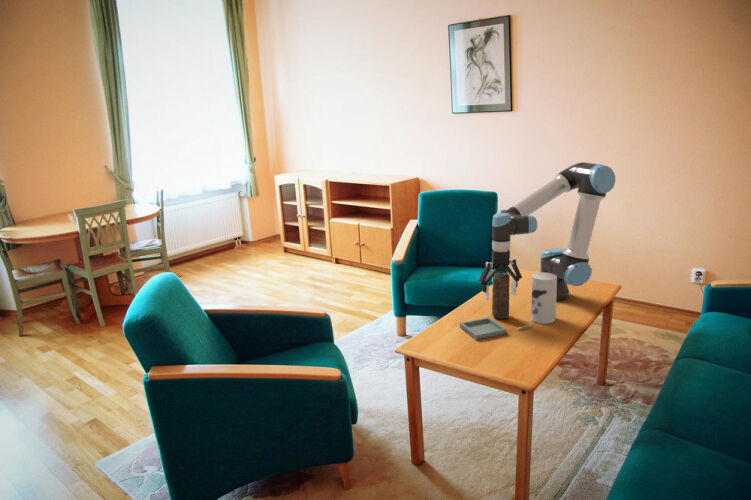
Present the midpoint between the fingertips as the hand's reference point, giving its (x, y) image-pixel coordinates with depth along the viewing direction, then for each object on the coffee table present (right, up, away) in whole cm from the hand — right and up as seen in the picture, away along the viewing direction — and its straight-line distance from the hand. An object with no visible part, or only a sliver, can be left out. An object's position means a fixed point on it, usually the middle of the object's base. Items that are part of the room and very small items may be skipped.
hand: (499, 296), depth 229 cm
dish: (-10, -13, -10) cm, 19 cm away
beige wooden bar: (+8, -13, -9) cm, 18 cm away
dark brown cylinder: (+1, -10, +3) cm, 10 cm away
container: (+18, -10, -2) cm, 21 cm away
